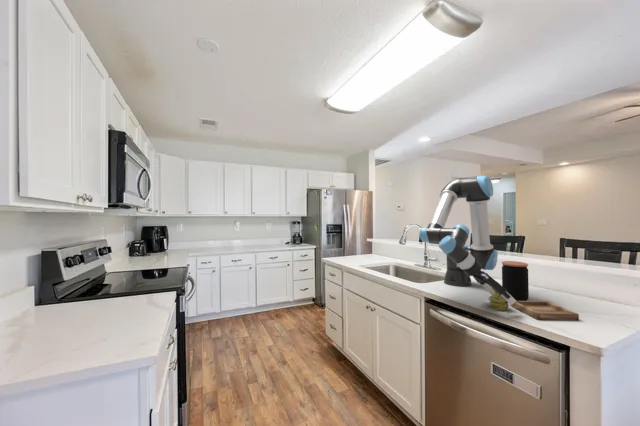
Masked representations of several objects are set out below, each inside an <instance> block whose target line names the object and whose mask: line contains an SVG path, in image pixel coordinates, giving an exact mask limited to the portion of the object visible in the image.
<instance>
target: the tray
mask: <svg viewBox="0 0 640 426" xmlns="http://www.w3.org/2000/svg"><path fill="white" fill-rule="evenodd" d="M511 306H512V307H511ZM510 307H511V308H514V309H515V310H517V311H519V312H521V313H523V314H525V315H527V316H528V317H531V318H532V319H534V320H536V321H541V320H542V321H579V320H580V314H579V313H577V312H575V311H572V310H571V309H567V308H565V307H563V306H560V305H558V304H555V303H553V302H550V301H548V300H527V301H516V302H515V303H514V304H513V305H511V304H510Z"/></svg>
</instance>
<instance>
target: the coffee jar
mask: <svg viewBox="0 0 640 426" xmlns="http://www.w3.org/2000/svg"><path fill="white" fill-rule="evenodd" d="M501 264H502V266H501V286H503V287H504V288H505V289H507V292H508V293H509V294H510V295H511V296H512V297H513V298H514V299H515V300H516V301H529V298H530V296H529V294H530V293H529V268H528V267H529V264H528V263H527V262H523V261H515V260H514V261H513V260H506V261H505V260H504V261H501Z"/></svg>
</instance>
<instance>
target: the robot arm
mask: <svg viewBox="0 0 640 426" xmlns="http://www.w3.org/2000/svg"><path fill="white" fill-rule="evenodd" d="M493 195H494V185H493V182H492V180H491V178H490V176H488V175H475V176H469V177H458V178H454V179H452V180H451V181H449V182H448V183H447V184H446V185H445V186H444V187H443V188H442V189H441V191H440V194H439V200H438V202H437V205H436V207H435V209H434V211H433V214H432V216H431V218H430V221H429V223H428V226H427V227H422V228H421V229H420V231H419V238H420V239H419V240H420V241H422V242H424V243H435V244H436V243H437V244H438V248H439V249H440V250H441V251H442V252H443V254H445V255H446V271H445V275H444V277H443V283H445V284H447V285H450V286H456V287H470V286H472V279H471V277H473V278H474V280H475V281H476V282H477V283H478V284H479V285H481V286H482V287H483V288H484V289H485V290H486V291H487V292H489V294H490V295H491V296H492V295H493V294H494V293H495V291H494V290H493V289H492V288H494V289H495V290H496V291H497V292H499V295H501V296H502V297H503V298H504V299H505V300H506V301H507V302H508V303H507V304H508V305H510V306H511V305H513V304H514V303H515V302H516V300H515V299H514V298H513V297H512V296H511V295H510V294H509V293H508V292H507V289H505V288H504V287H503V286H502V284H500V283H499V282H498V281H496V280H495V279H494V278H493V277H492V276H490V275H489V274H488V273H487V272H485V271H493V270H494V269H496V266H497V262H498V257H499V252H498V250H496V249H494V245H493V244H491V240H490V239H491V238H490V225H489V214H488V213H489V210H488V203H489V201H490V200H491V197H493ZM458 199H465V202H466V203H468V204H469V213H470V225H471V227H470V228H471V239H472V243H471V245H470V246H469V245H466V243H467V240H468V239H469V237H470V229H469V227H468V226H466V225H464V224H459V223H458V224H456V225H454V226H453V227H451V228H450V227H449V228H447V227H446V228H445V226H446V224H447V221H448V218H449V216H450V213H451V211H452V208H453V205H454V203H455V202H457V201H458Z"/></svg>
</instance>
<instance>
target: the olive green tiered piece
mask: <svg viewBox="0 0 640 426" xmlns="http://www.w3.org/2000/svg"><path fill="white" fill-rule="evenodd" d="M492 289H493V290H494V291H495V293H494V294H493V295H492V294H491V295H490V296H488V301H489V302H488V307H489V308H490V309H492V310H496V311H501V312H506V311H509V306H510V304H509V303H508V302H507V301H506V300H505V299H504V298H503V297H502V296H501V295H499V292H497V291H496V290H495V289H494V288H492Z"/></svg>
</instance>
